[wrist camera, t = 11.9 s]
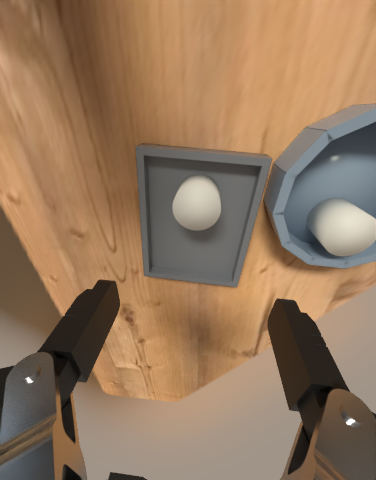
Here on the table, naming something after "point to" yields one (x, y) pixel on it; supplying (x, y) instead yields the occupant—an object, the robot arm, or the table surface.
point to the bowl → (324, 181)
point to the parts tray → (203, 241)
